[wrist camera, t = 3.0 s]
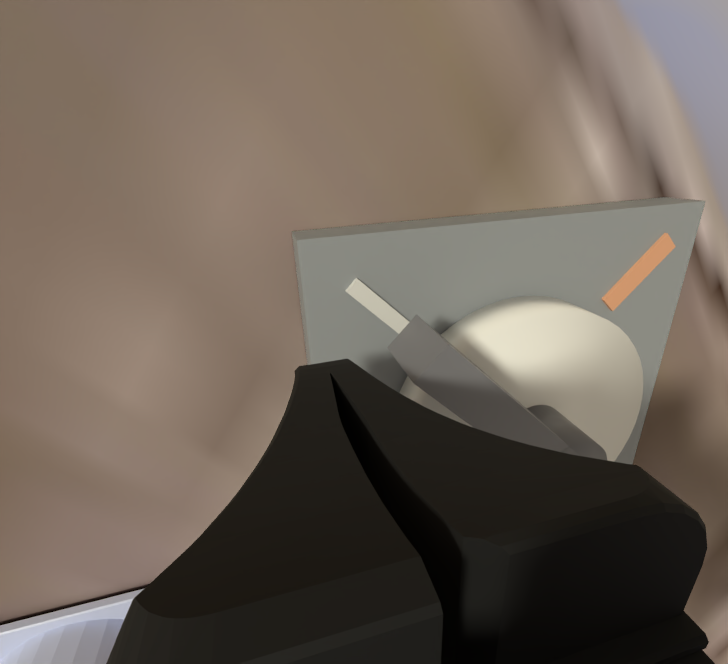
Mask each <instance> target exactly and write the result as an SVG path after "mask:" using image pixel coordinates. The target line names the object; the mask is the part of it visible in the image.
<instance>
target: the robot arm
mask: <svg viewBox="0 0 728 664" xmlns="http://www.w3.org/2000/svg"><path fill="white" fill-rule="evenodd" d="M706 550H707V539H706V528H705V524H704V523H703V521H702V519H701V518H700V516H699V514H698V513H697V512H696V511H695V510H694V509H692V508H691V507H690V506H688V505H687V504H686V503H685V502H683V501H682V500H681V499H680V498H678V497H677V496H676V495H675V494H673V493H672V492H671V491H670V490H668V489H667V488H666V487H664V486H663V485H662V484H661V483H659V482H658V481H657V480H656V479H654V478H653V477H652V476H651V475H649V474H648V473H647V472H646V471H644V470H643V469H642V468H640V467H639V466H637V465H631V464H625V463H619V462H613V461H607V460H601V459H595V458H590V457H584V456H578V455H572V454H567V453H562V452H558V451H554V450H549V449H545V448H541V447H537V446H532V445H528V444H525V443H521V442H517V441H514V440H510V439H507V438H503V437H500V436H497V435H494V434H491V433H488V432H485V431H482V430H479V429H476V428H473V427H470V426H468V425H465V424H462V423H460V422H457V421H455V420H453V419H450V418H448V417H446V416H443V415H441V414H439V413H436V412H434V411H432V410H430V409H428V408H426V407H424V406H422V405H420V404H418V403H417V402H415V401H413V400H411V399H409V398H407V397H405V396H404V395H402V394H400V393H399V392H397V391H395V390H394V389H392V388H390V387H389V386H387V385H386V384H384V383H383V382H381V381H380V380H378V379H377V378H375V377H374V376H372V375H371V374H369V373H368V372H366V371H365V370H363V369H362V368H361V367H359V366H358V365H356V364H355V363H354V362H352V361H351V360H349V359H348V358H347V359H341V360H335V361H329V362H323V363H317V364H311V365H304V366H299V367H298V368H297V369H296V370H295V381H294V386H293V390H292V393H291V396H290V399H289V402H288V405H287V408H286V411H285V413H284V416H283V418H282V420H281V422H280V424H279V426H278V429H277V431H276V433H275V435H274V437H273V439H272V441H271V443H270V444H269V446H268V448H267V450H266V451H265V453H264V455H263V456H262V458H261V460H260V461H259V463H258V464H257V466H256V468H255V469H254V470H253V472H252V473H251V475H250V476H249V477H248V479H247V480H246V482H245V483H244V485H243V486H242V487H241V489H240V490H239V491H238V493H237V494H236V495H235V497H234V498H233V499H232V500H231V502H230V503H229V504H228V505H227V506H226V507H225V509H224V510H223V511H222V512H221V513H220V514H219V515H218V517H217V518H216V519H215V520H214V521H213V522H212V523H211V525H210V526H209V527H208V528H207V529H206V530H205V531H204V532H203V534H202V535H201V536H200V537H199V538H198V539H197V540H196V541H195V542H194V543H193V544H192V545H191V546H190V547H189V548H188V549H187V550H186V551H185V552H184V553H183V554H181V555H180V556H179V557H178V558H177V559H176V560H175V561H174V562H173V563H172V564H171V565H170V566H169V567H168V568H166V569H165V570H164V571H163V572H162V573H161V574H160V575H159V576H158V577H157V578H156V579H155V580H154V581H153V582H151V583H150V584H149V585H148V586H147V587H146V588H144V589H140V590H136V591H132V592H128V593H125V594H121V595H117V596H113V597H109V598H105V599H101V600H97V601H93V602H89V603H86V604H82V605H78V606H74V607H70V608H66V609H62V610H58V611H54V612H50V613H47V614H43V615H39V616H35V617H31V618H27V619H23V620H19V621H15V622H11V623H7V624H4V625H0V664H715V663H714V662H713V661H712V660H711V659H710V658H709V657H708V656H707V655H706V654H705V653H704V651H703V650H702V649H704V648H706V647H707V644H708V642H709V641H708V639H707V637H706V634H705V633H704V632H703V631H702V630H701V629H700V628H699V626H698V625H697V624H696V623H695V622H694V621H693V620H692V619H691V618H690V617H689V616H688V615H687V614H686V613H685V612H684V611H683V610H684V608H685V605H686V603H687V601H688V598H689V596H690V593H691V591H692V589H693V586H694V584H695V582H696V579H697V577H698V574H699V572H700V570H701V567H702V564H703V561H704V557H705V554H706Z"/></svg>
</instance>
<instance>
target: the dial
mask: <svg viewBox="0 0 728 664" xmlns="http://www.w3.org/2000/svg"><path fill="white" fill-rule="evenodd" d="M387 348H388V349H389V351H390V352H391V353H392V355H393V356H394V357H395V359H396V360H397V362H398V363H399V364H400V366H401V367H402V368H403V370H404V371H405V373H406V374H407V375H408V376H407V378H406V380H405V382H404V384H403V386H402V388H401V390H400V394H402V395H404V396H405V397H407V398H409V399H411V400H413V401H415V402H417V403H418V404H420V405H422V406H424V407H426V408H428V409H430V410H432V411H434V412H436V413H439V414H441V415H443V416H446V417H448V418H450V419H453V420H455V421H457V422H460V423H462V424H465V425H468V426H470V427H473V428H476V429H479V430H482V431H485V432H488V433H491V434H494V435H497V436H500V437H503V438H507V439H510V440H514V441H517V442H521V443H525V444H528V445H532V446H537V447H541V448H545V449H549V450H554V451H558V452H562V453H567V454H572V455H578V456H584V457H590V458H595V459H601V460H607V461H613V462H614V461H615V460H616V458H617V457H618V455H619V454H620V452H621V451H622V449H623V448H624V446H625V444H626V442H627V441H628V439H629V437H630V435H631V432H632V430H633V428H634V426H635V423H636V420H637V417H638V414H639V411H640V406H641V402H642V396H643V370H642V366H641V361H640V358H639V355H638V353H637V350H636V348H635V346H634V345H633V343H632V342H631V340H630V339H629V337H628V336H627V335H626V334H625V333H624V332H623V331H622V330H621V329H620V328H619V327H618V326H616V325H615V324H613V323H612V322H610V321H609V320H607V319H605V318H602V317H600V316H598V315H596V314H594V313H591V312H589V311H587V310H585V309H582V308H580V307H578V306H576V305H573V304H571V303H569V302H566V301H564V300H561V299H557V298H553V297H548V296H535V295H534V296H520V297H514V298H510V299H505V300H501V301H498V302H495V303H492V304H490V305H487V306H485V307H482V308H480V309H478V310H476V311H474V312H472V313H470V314H469V315H467V316H465V317H464V318H462V319H461V320H459V321H458V322H456V323H455V324H453V325H452V326H451V327H450V328H448V329H447V330H446V331H445V332H443V333H442V334H441V335H440V334H439V333H438V332H437V331H435V330H434V329H433V328H432V327H431V326H429V325H428V324H427V323H426V322H425V321H424V320H422V319H421V318H420V317H419V316H418V315H417V314H416V315H415V317H414V318H413V319H412V320H411V321H410V322H409V323H408V325H407V326H406V327H405V328H404V329H403V330H402V331H401V332H400V334H399V335H398V336H397V337H396V338H395V339H394V340H393V341H392V343H391V344H390V345H389V346H388V347H387Z"/></svg>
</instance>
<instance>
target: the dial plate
mask: <svg viewBox="0 0 728 664" xmlns="http://www.w3.org/2000/svg"><path fill="white" fill-rule="evenodd" d="M704 205H705V201H701V200H690V199H679V198H668V197H664V198H653V199H642V200H631V201H620V202H609V203H598V204H587V205H576V206H565V207H554V208H543V209H532V210H521V211H510V212H499V213H488V214H477V215H466V216H455V217H445V218H434V219H423V220H412V221H401V222H390V223H379V224H368V225H357V226H346V227H335V228H324V229H313V230H302V231H292V238H293V247H294V255H295V263H296V272H297V280H298V289H299V297H300V306H301V314H302V323H303V331H304V339H305V348H306V356H307V365H311V364H317V363H323V362H329V361H335V360H341V359H347V358H348V359H349V360H351V361H352V362H354V363H355V364H356V365H358V366H359V367H361V368H362V369H363V370H365V371H366V372H368V373H369V374H371V375H372V376H374V377H375V378H377V379H378V380H380V381H381V382H383V383H384V384H386V385H387V386H389V387H390V388H392V389H394V390H395V391H397V392H399V393H400V390H401V388H402V386H403V384H404V382H405V380H406V378H407V376H408V375H407V374H406V373H405V371H404V370H403V368H402V367H401V366H400V364H399V363H398V362H397V360H396V359H395V357H394V356H393V355H392V353H391V352H390V351H389V349H388V348H387V347H388V346H389V345H390V344H391V343H392V341H393V340H394V339H395V338H396V337H397V336H398V335H399V334H400V332H401V331H402V330H403V329H404V328H405V327H406V326H407V325H408V323H409V322H410V321H411V320H412V319H413V318H414V317H415V315H416V314H417V315H418V316H419V317H420V318H421V319H422V320H424V321H425V322H426V323H427V324H428V325H429V326H431V327H432V328H433V329H434V330H435V331H437V332H438V333H439V334H440V335H441V334H442V333H443V332H445V331H446V330H447V329H448V328H450V327H451V326H452V325H453V324H455V323H456V322H458V321H459V320H461V319H462V318H464V317H465V316H467V315H469V314H470V313H472V312H474V311H476V310H478V309H480V308H482V307H485V306H487V305H490V304H492V303H495V302H498V301H501V300H505V299H510V298H514V297H520V296H534V295H535V296H548V297H553V298H557V299H561V300H564V301H566V302H569V303H571V304H573V305H576V306H578V307H580V308H582V309H585V310H587V311H589V312H591V313H594V314H596V315H598V316H600V317H602V318H605V319H607V320H609V321H610V322H612V323H613V324H615V325H616V326H618V327H619V328H620V329H621V330H622V331H623V332H624V333H625V334H626V335H627V336H628V337H629V339H630V340H631V342H632V343H633V345H634V346H635V348H636V350H637V353H638V355H639V358H640V361H641V366H642V370H643V396H642V402H641V406H640V411H639V414H638V417H637V420H636V423H635V426H634V428H633V430H632V432H631V435H630V437H629V439H628V441H627V442H626V444H625V446H624V448H623V449H622V451H621V452H620V454H619V455H618V457H617V458H616V460H615V461H614V462H619V463H625V464H631V465H632V464H633V460H634V457H635V453H636V450H637V446H638V442H639V439H640V435H641V432H642V428H643V424H644V421H645V417H646V414H647V410H648V406H649V403H650V399H651V396H652V392H653V388H654V385H655V381H656V378H657V374H658V370H659V367H660V363H661V360H662V356H663V352H664V349H665V345H666V342H667V338H668V334H669V331H670V327H671V324H672V320H673V316H674V313H675V309H676V305H677V302H678V298H679V295H680V291H681V287H682V284H683V280H684V277H685V273H686V269H687V266H688V262H689V259H690V255H691V251H692V248H693V244H694V241H695V237H696V233H697V230H698V226H699V223H700V219H701V215H702V212H703V208H704Z"/></svg>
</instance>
